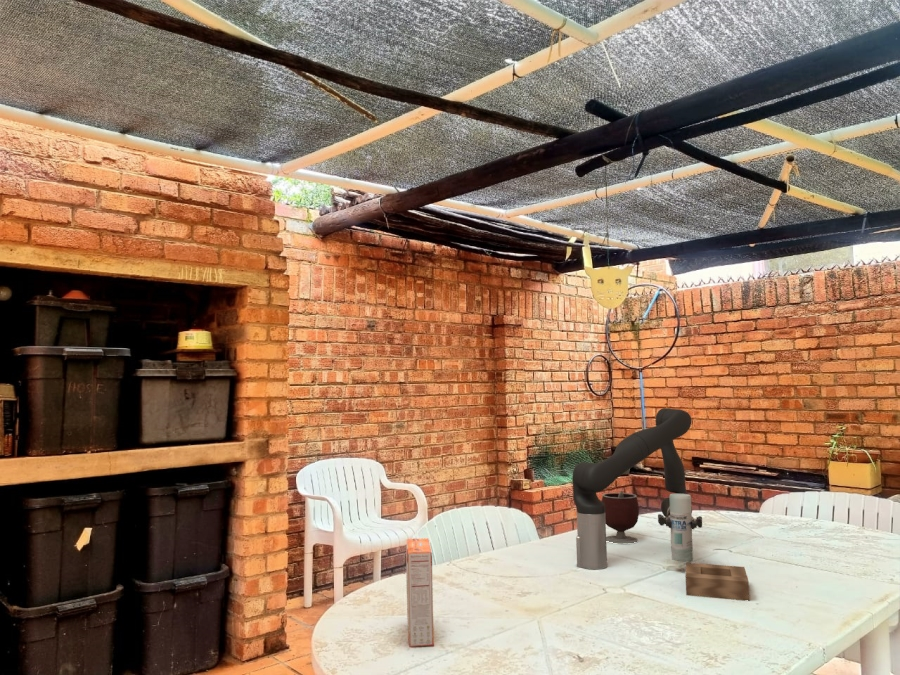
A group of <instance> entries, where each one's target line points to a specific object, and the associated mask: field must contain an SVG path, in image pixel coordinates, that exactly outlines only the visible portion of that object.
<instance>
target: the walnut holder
mask: <svg viewBox="0 0 900 675" xmlns="http://www.w3.org/2000/svg"><path fill="white" fill-rule="evenodd" d="M749 583H750V582H749V579H748V574H747V572H746V569H745V566H738V565H737V566H736V565H725V564H723V565H722V564H711V563H709V564H708V563H698V562H697V563H696V562H685V594H686V596H691V597H693V596H694V597H702V598H703V597H704V598H712V599H713V598H715V599H725V600H726V599H727V600H734V599H736V600H737V601H745V600H748V601H747V602H750V601H751V600H750V584H749ZM736 600H735V601H736Z"/></svg>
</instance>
